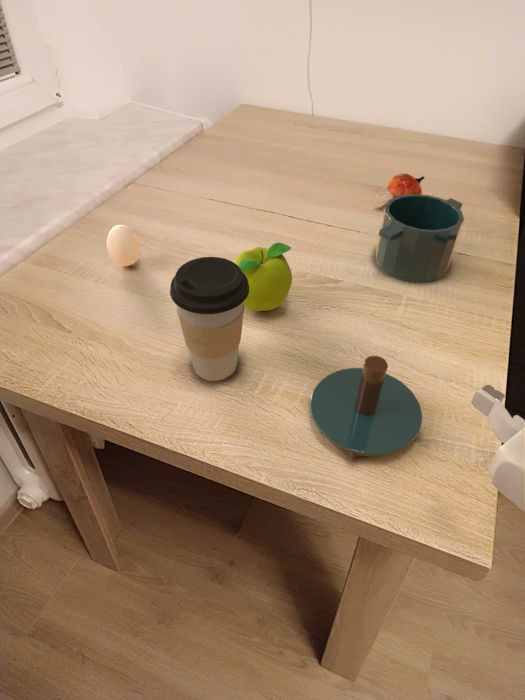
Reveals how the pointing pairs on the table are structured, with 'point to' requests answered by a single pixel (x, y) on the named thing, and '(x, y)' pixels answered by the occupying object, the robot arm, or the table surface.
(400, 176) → the pomegranate
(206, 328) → the coffee cup
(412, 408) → the lid
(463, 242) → the table surface
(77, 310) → the table surface
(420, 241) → the pot
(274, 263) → the fruit
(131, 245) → the egg
